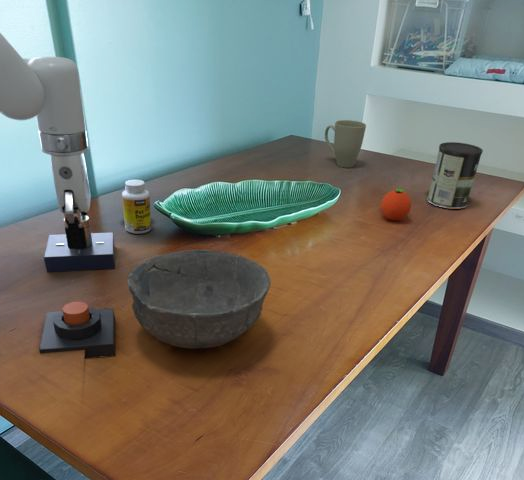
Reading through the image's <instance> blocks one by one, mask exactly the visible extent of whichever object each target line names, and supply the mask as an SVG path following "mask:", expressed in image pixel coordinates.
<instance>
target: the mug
mask: <svg viewBox="0 0 524 480" xmlns="http://www.w3.org/2000/svg"><path fill="white" fill-rule="evenodd" d="M366 128H367V124H366V123H365V122H362V121H358V120H352V119H350V120H349V119H342V120H336V121H335V122H334V125H333V124H332V125H328V126H327V127H326V128H325V131H324V140H325V143H326V144H327V146H328V148H329V149H330V151H331V152H332V154H334V156H335V161H336V166H337V165H338V166H337V167H339V166H340V168H343V167H344V169H350V168H353V167H354V165H355V163H356V160H357V158H358V156H359V154H360V152H361V149H362V146H363V142H364V137H365V132H366ZM330 129H331V130H333V131H334V136H333V146H332V144H331V142H330V140H329V135H328V134H329V131H330Z"/></svg>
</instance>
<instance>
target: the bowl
mask: <svg viewBox="0 0 524 480" xmlns="http://www.w3.org/2000/svg"><path fill="white" fill-rule="evenodd" d="M271 283H272V281H271V277H270V274H269V272H268V270H267V269H266V268H265V267H263V266H262V265H261V264H259V263H258V262H256V261H254V260H252V259H250V258H247V257H245V256H242V255H238V254H235V253H230V252H226V251H218V250H208V249H190V250H179V251H174V252H169V253H164V254H160V255H155V256H152V257H150V258H148V259H146V260H145V261H143V262H141V263H139V264H138V265H136V266H135V267H133V268H132V269H131V272H130V274H128V275H127V288H128V290H129V292H130V294H131V297H132V301H133V302H132V304H131V306H132V310H133V314H134V317H135V319H136V320H137V322H138V323H139V325H140V326H141V327H142V328H144V329H145V331H146V333H148V334H150V335H151V336H153V337H154V338H155V339H157V340H158V341H161V342H162V343H164V344H167V345H169V346H173V347H177V348H181V349H208V348H217V347H221V346H224V345H225V344H227V343H229V342H233V340H235V339H237V338H238V337H240V336H241V335H243V333H245V332H246V331H248V330H249V329H250V328H251V327H252V326H253V325H254V324H256V323H257V322H258V320H259V318H260V317H261V315H262V310H263V304H264V302H265V299H266V297H267V294H268V293H269V290H270V288H271Z"/></svg>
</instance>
